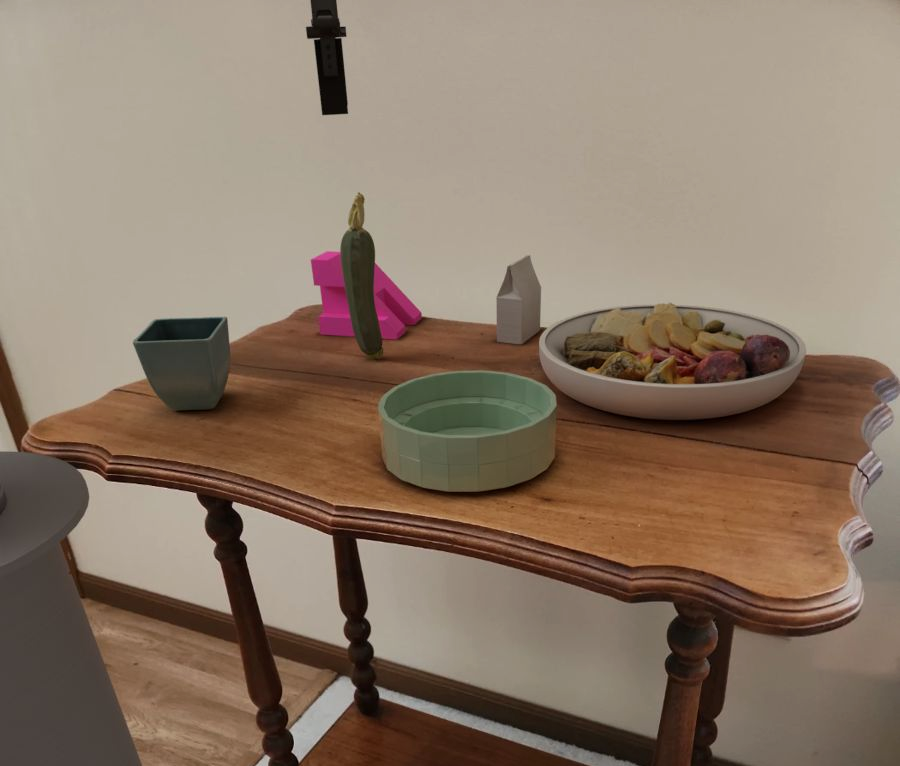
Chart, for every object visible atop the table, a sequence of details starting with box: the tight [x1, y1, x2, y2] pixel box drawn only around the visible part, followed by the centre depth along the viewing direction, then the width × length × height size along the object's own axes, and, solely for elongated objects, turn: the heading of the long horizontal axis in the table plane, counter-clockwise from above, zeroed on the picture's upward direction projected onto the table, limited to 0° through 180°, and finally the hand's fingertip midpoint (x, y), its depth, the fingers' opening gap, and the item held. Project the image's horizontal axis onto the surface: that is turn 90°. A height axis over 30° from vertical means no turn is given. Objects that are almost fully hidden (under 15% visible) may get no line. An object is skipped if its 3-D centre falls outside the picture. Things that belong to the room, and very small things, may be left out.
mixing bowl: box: [377, 369, 558, 493], centre depth 80 cm, size 17×17×6 cm
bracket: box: [310, 250, 423, 340], centre depth 117 cm, size 12×10×10 cm
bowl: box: [538, 302, 807, 421], centre depth 95 cm, size 30×30×8 cm
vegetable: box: [339, 192, 384, 360], centre depth 102 cm, size 4×4×20 cm
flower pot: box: [132, 316, 231, 411], centre depth 94 cm, size 9×9×9 cm
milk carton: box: [496, 254, 542, 345], centre depth 111 cm, size 4×7×10 cm, turn 153°
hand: (335, 110), depth 90 cm, fingers open, 13 cm apart
